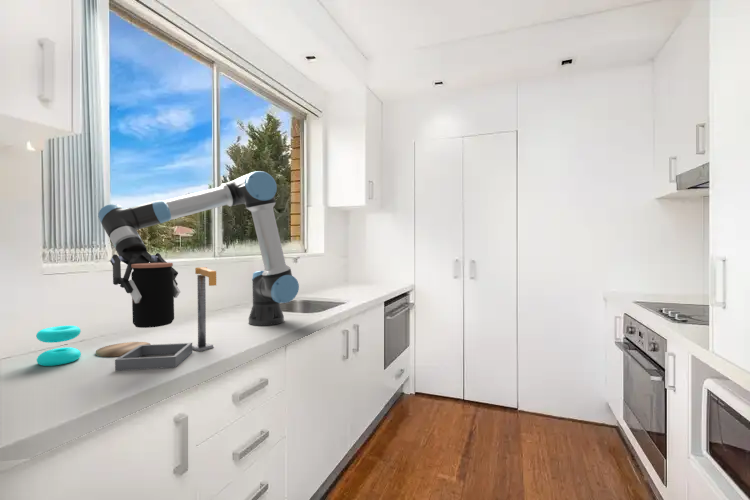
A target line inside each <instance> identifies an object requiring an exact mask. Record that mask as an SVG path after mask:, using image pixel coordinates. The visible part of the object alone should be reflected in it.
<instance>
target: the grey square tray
mask: <svg viewBox="0 0 750 500" xmlns="http://www.w3.org/2000/svg"><path fill="white" fill-rule="evenodd" d="M192 346H193V342H181V343H180V342H179V343H159V344H157V343H156V344H154V343H153V344H151V345H139V346H138V347H136V348H134V349H132V350H131V351H129V352H127V353H126V354H124V355H122V356H118V357H117V358H116V359H114V371H115V372H116V371H134V370H136V371H137V370H151V369H153V370H154V369H169V368H170V369H171V368H172V369H173V368H177V366H179V365H180V364H181V363H182V362H184V360H186V359H187V358H188V357H189V356H190V355H191V354H192V353H193V350H192ZM155 355H156V356H155ZM157 355H158V356H157ZM160 355H164V356H160ZM142 356H143V357H142ZM144 356H146V357H144Z"/></svg>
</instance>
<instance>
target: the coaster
mask: <svg viewBox="0 0 750 500" xmlns="http://www.w3.org/2000/svg"><path fill="white" fill-rule="evenodd" d="M139 345H152V344H151V343H150V342H146V341H129V342H120V343H114V344H110V345H105V346H103V347H99V348H98V349H97V350H96V351H95V355H96V356H97V357H102V358H116V357H117V358H119V357H121V356H122V355H124V354H126V353H127V352H129V351H131V350H132V349H134V348H136V347H138V346H139Z"/></svg>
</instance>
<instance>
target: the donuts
mask: <svg viewBox="0 0 750 500" xmlns="http://www.w3.org/2000/svg"><path fill="white" fill-rule="evenodd" d="M81 332H82V331H81V328H80V326H77V325H58V326H51V327H45V328H43V329H40V330H39V331H37V333H36V339H37V340H38V341H40V342H42V343H48V344H49V343H51V344H52V343H61V342H62V343H63V342H67V341H71V340H73V339H75V338H77V337H78V336H79V335H80V334H81ZM81 356H82V353H81V351H80V350H79V349H78V348H75V347H70V346H69V347H57V348H53V349H49V350H48V349H47V350H45V351H43V352H41V353H40V354H39V355H38V356H37V358H36V363H37V364H38V365H40V366H44V367H52V366H54V367H55V366H61V365H62V366H63V365H66V364H70V363H73V362H75V361H77V360H79V359H80V358H81Z"/></svg>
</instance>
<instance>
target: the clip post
mask: <svg viewBox="0 0 750 500" xmlns="http://www.w3.org/2000/svg"><path fill="white" fill-rule="evenodd" d="M196 275H197V276H196V277H197V278H196V279H197V280H196V281H197V344H194V345H192V351H196V352H202V351H208V350H211V349H214V344H210V343H207V330H206V329H207V327H206V326H207V324H206V323H207V322H206V321H207V319H206V318H207V317H206V316H207V315H206V310H207V309H206V303H207V302H206V276H204V275H201V274H196Z"/></svg>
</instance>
